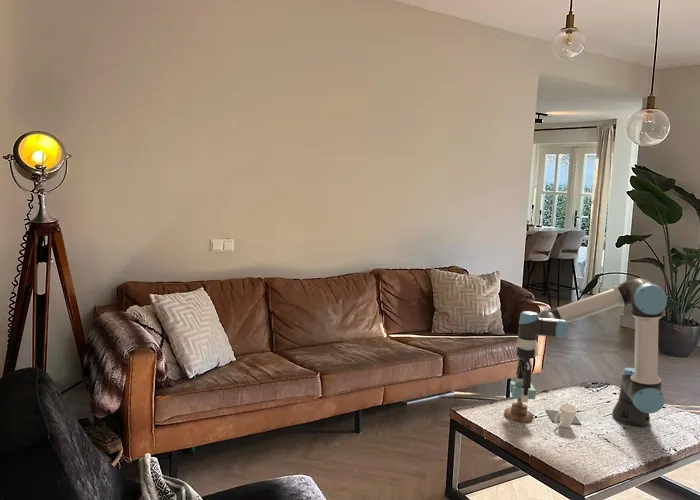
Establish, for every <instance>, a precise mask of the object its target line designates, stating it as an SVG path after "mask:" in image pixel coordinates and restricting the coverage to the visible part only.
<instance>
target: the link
mask: <svg viewBox="0 0 700 500" xmlns="http://www.w3.org/2000/svg"><path fill="white" fill-rule="evenodd" d="M521 386H523V382H517V381H510V382H509V392H510V394H511V396H512V397H513V399H518V398H520V399H521V395H522V388H521ZM536 393H537V390H536V389H535V386H534V385H533V384H532V383H531V388H529V394H528V400H536V395H537V394H536Z"/></svg>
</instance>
